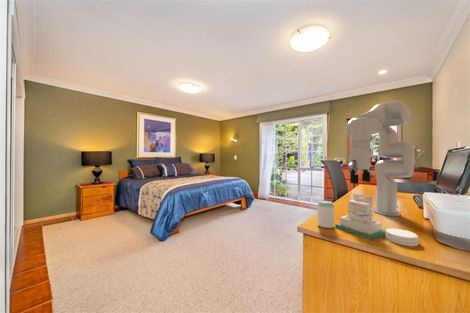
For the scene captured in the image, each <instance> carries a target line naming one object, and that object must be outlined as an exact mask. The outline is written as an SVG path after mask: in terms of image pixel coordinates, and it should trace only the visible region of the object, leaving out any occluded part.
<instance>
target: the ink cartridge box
mask: <svg viewBox="0 0 470 313" xmlns="http://www.w3.org/2000/svg"><path fill="white" fill-rule="evenodd" d="M347 201H348V202H347V207H348V208H347V215H348V219H350V220H353V221H357V222H360V223H364V224H367V225H371V224H372V220H373V210H374V208H373V207H374V206H373V204H374V203H373V197H372V196H371V195H366V194H360V193H352V199H350V200H347Z"/></svg>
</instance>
